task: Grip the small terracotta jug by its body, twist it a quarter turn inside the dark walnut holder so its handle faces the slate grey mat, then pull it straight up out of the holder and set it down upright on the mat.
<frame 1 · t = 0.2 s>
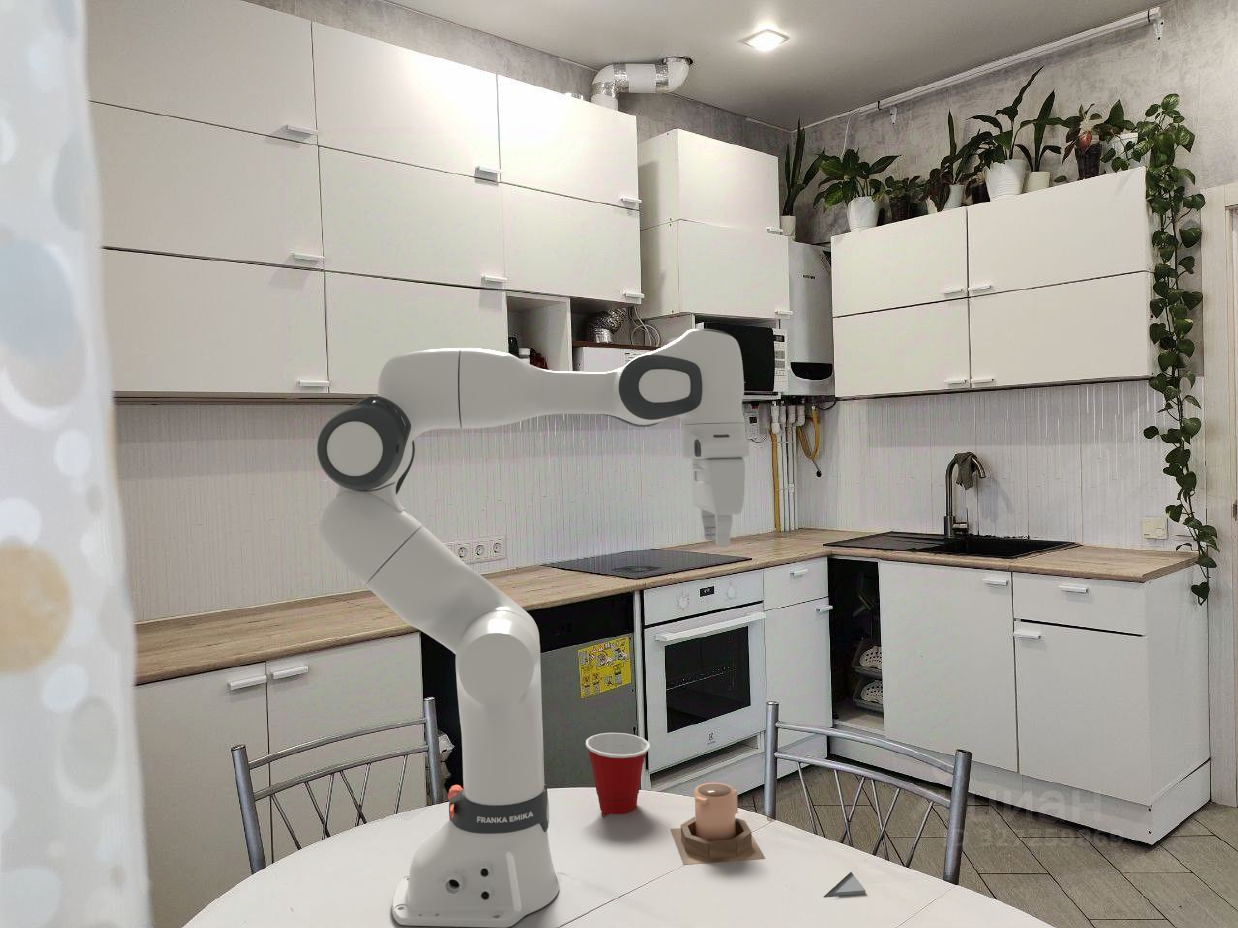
hand: (716, 543, 124), 47 cm above the table, tool pointing down, fingers open, 8 cm apart
slate mat: (817, 878, 122), on the table
holder: (716, 849, 132), on the table
plastic cup: (619, 813, 147), on the table
jug: (715, 842, 132), point 1 cm above the table, touching holder
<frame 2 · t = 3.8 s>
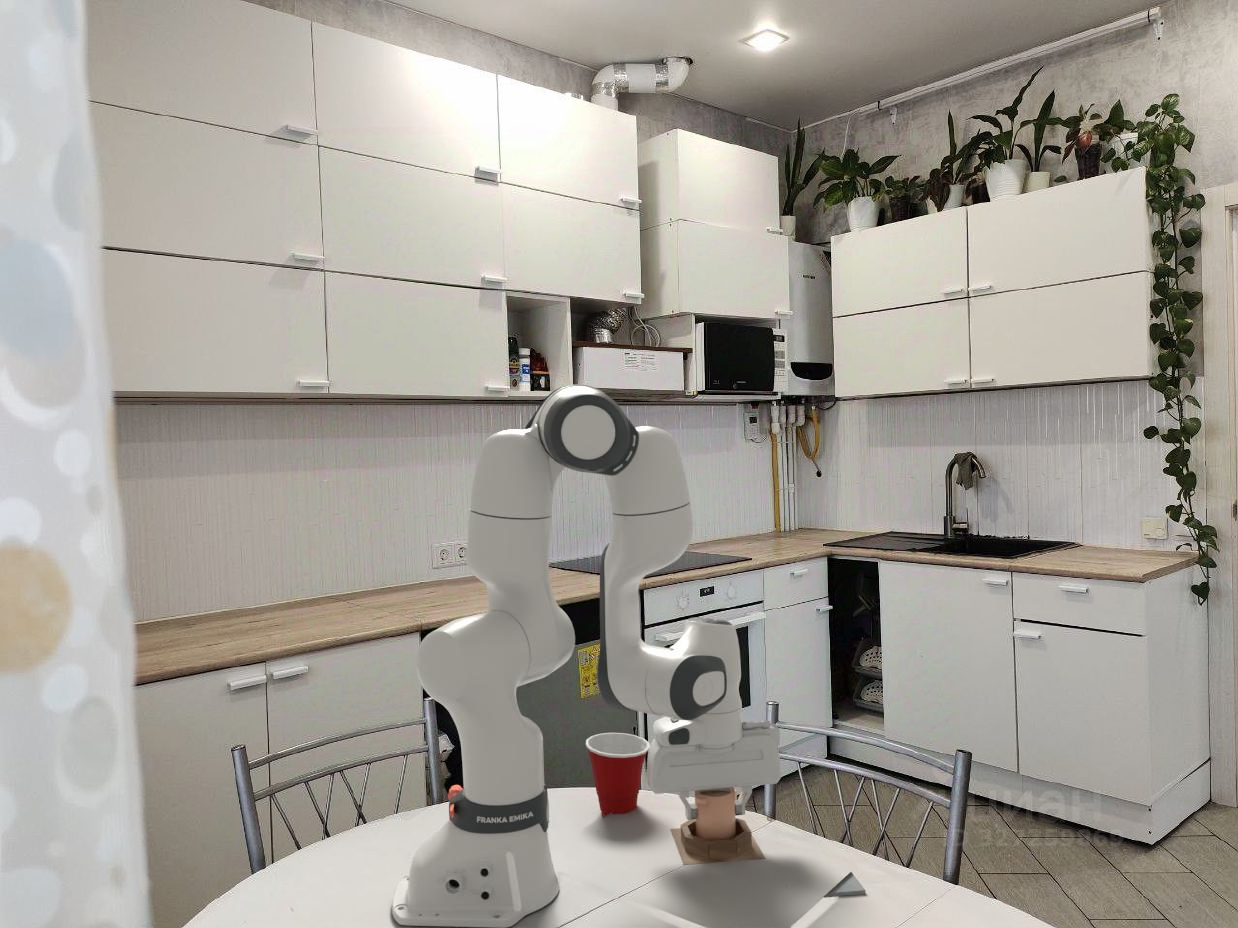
hand: (715, 815, 132), 5 cm above the table, tool pointing down, fingers closed on jug, 6 cm apart
jug: (716, 842, 132), point 1 cm above the table, touching gripper
everything else where it was.
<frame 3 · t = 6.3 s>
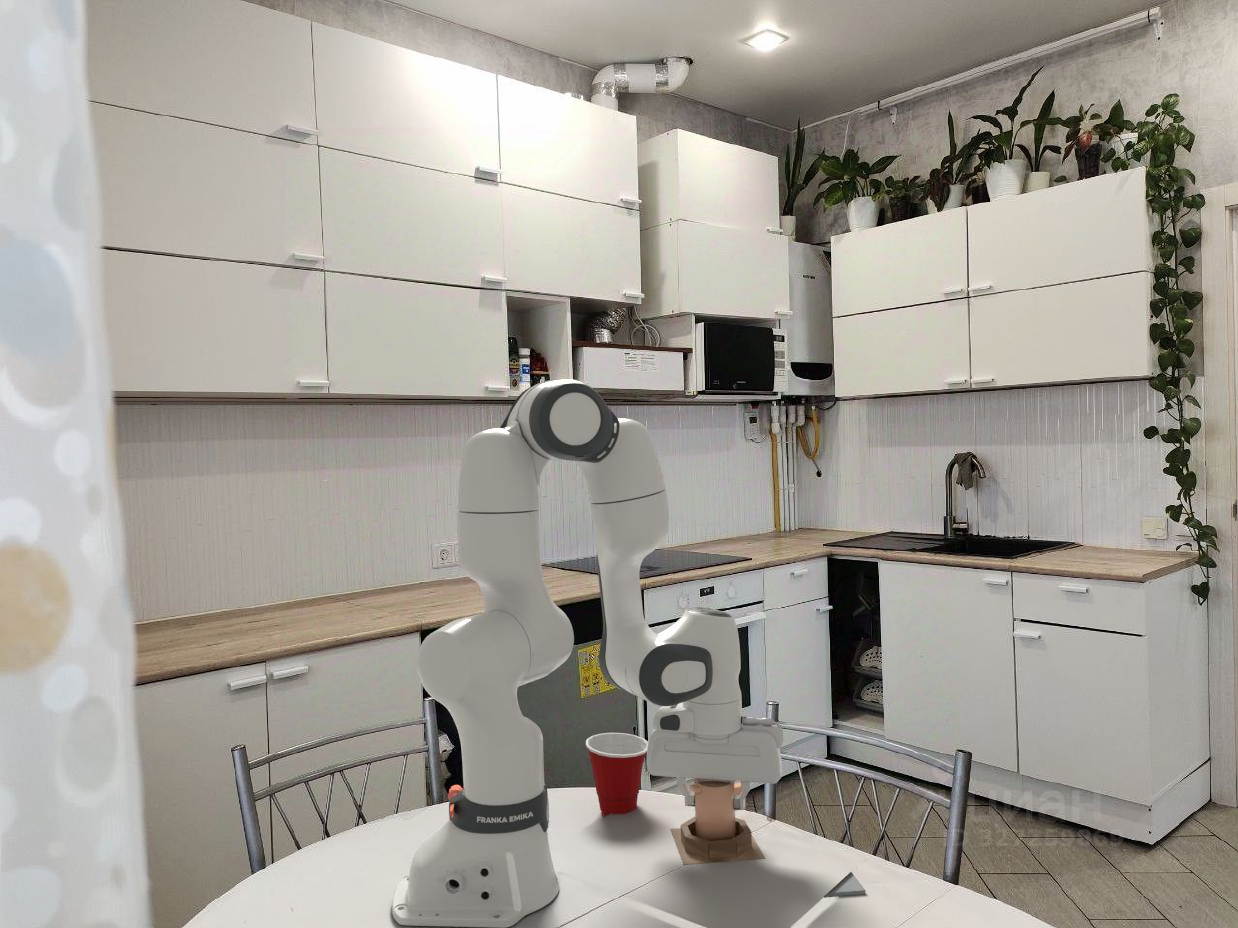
hand: (714, 806, 132), 6 cm above the table, tool pointing down, fingers closed on jug, 6 cm apart
jug: (715, 833, 132), point 2 cm above the table, touching gripper
everything else where it was.
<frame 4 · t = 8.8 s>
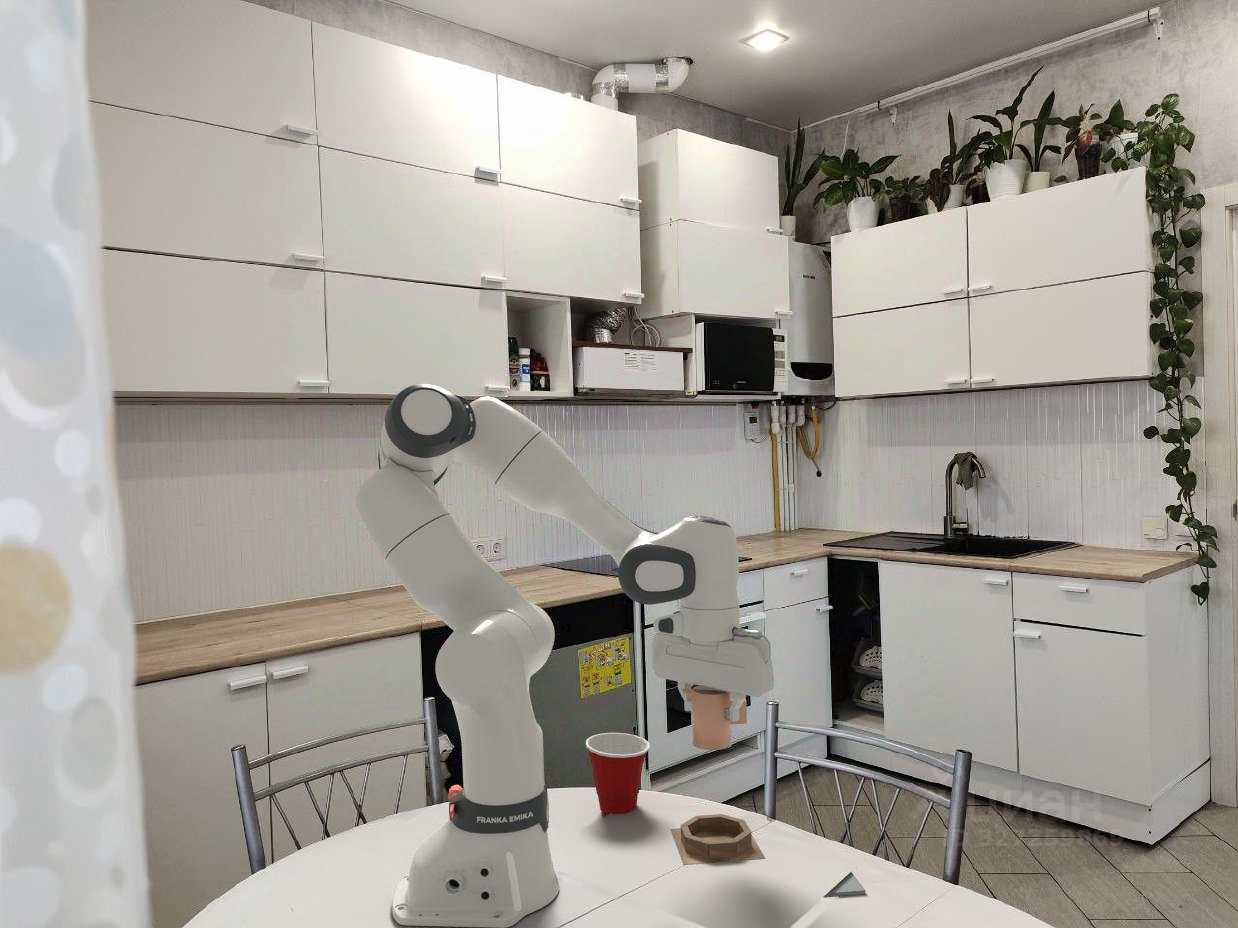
hand: (711, 715, 132), 20 cm above the table, tool pointing down, fingers closed on jug, 6 cm apart
jug: (711, 742, 132), point 16 cm above the table, touching gripper
everything else where it was.
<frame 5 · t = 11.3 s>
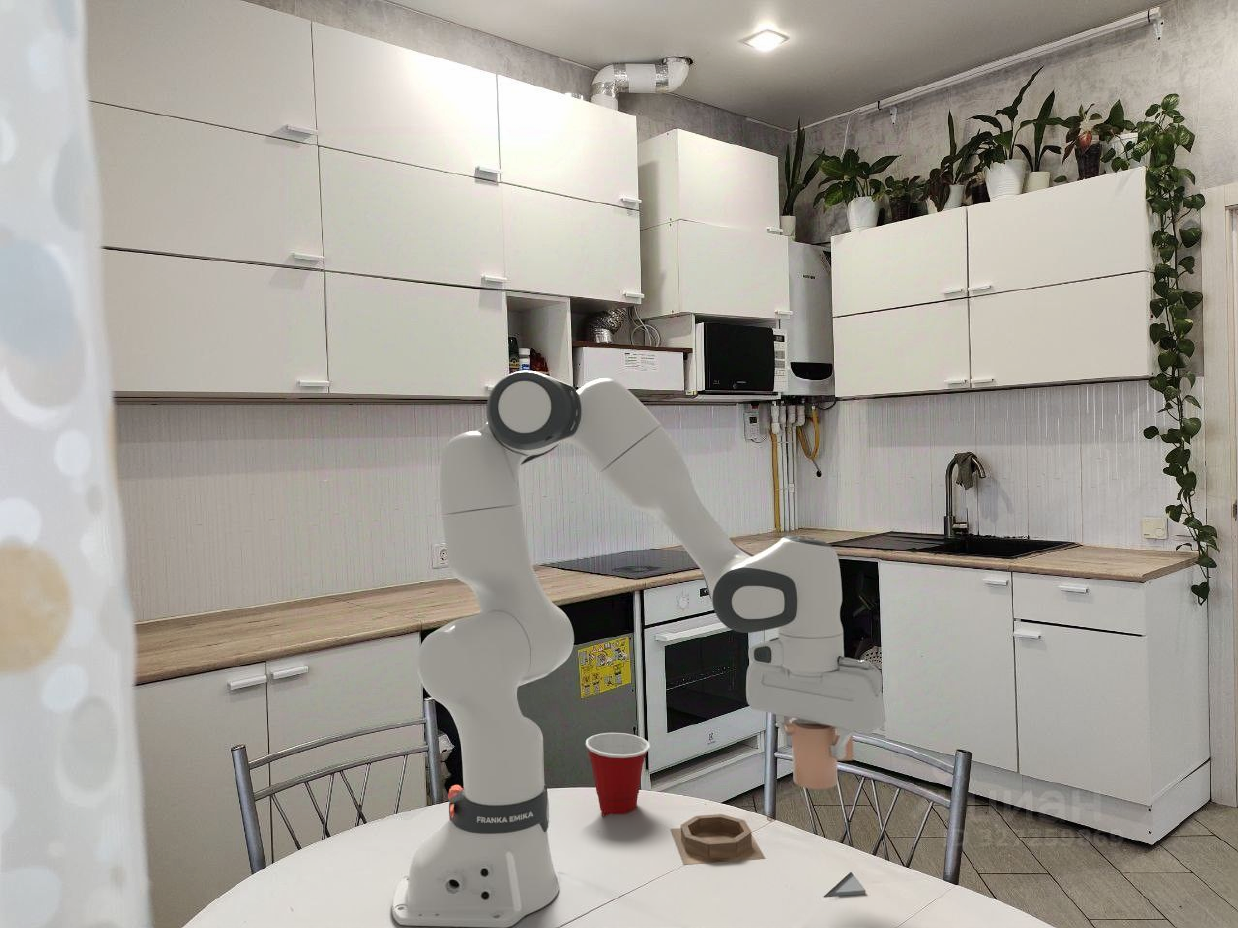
hand: (814, 751, 122), 18 cm above the table, tool pointing down, fingers closed on jug, 6 cm apart
jug: (815, 780, 122), point 14 cm above the table, touching gripper
everything else where it was.
when the fingers open (6 cm above the table, at t = 13.8 s): jug drops 1 cm, resting on slate mat.
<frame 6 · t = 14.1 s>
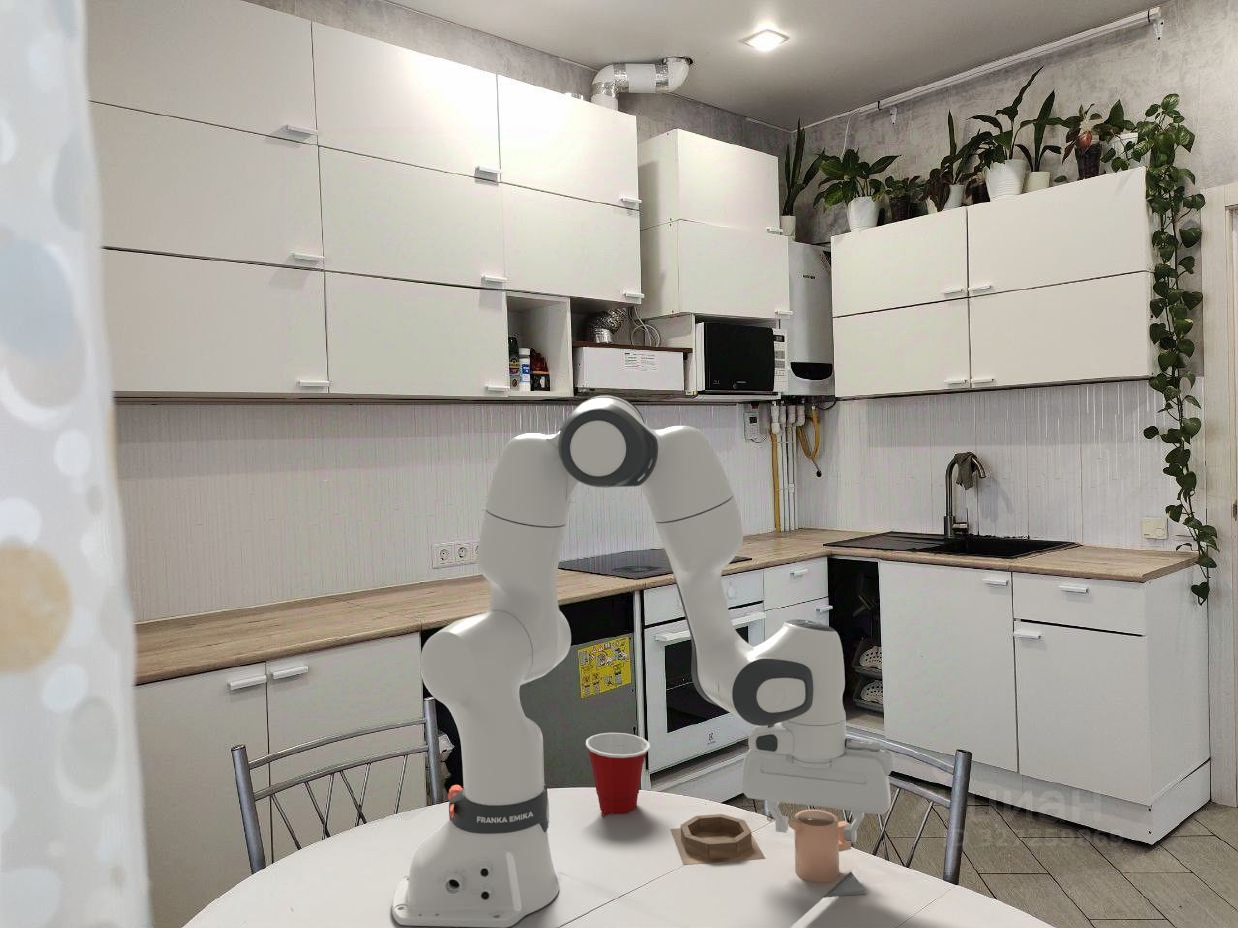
hand: (815, 835, 122), 6 cm above the table, tool pointing down, fingers open, 8 cm apart
jug: (817, 875, 122), point 1 cm above the table, touching slate mat
everything else where it was.
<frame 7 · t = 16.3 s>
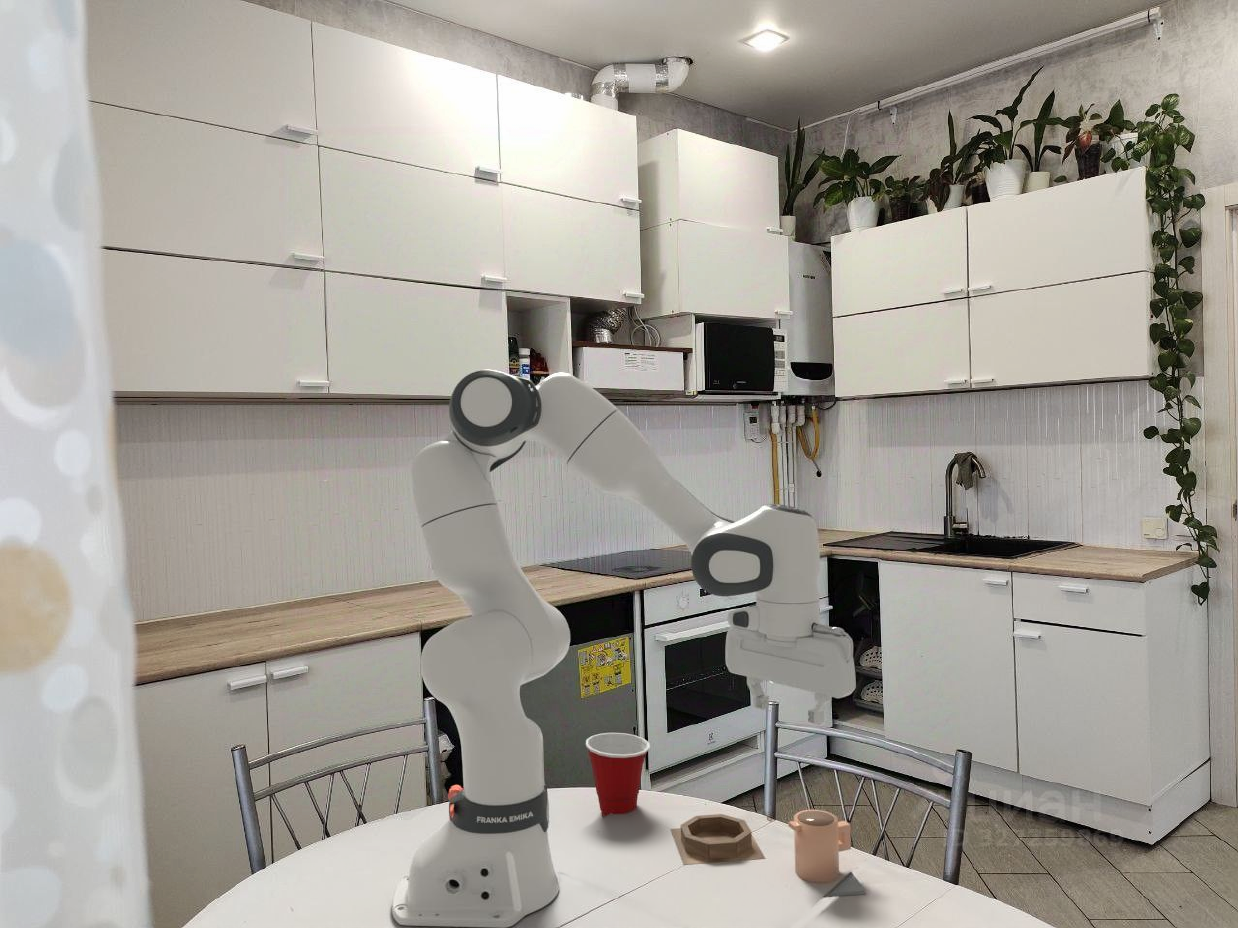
hand: (787, 715, 125), 22 cm above the table, tool pointing down, fingers open, 8 cm apart
nothing on the table moved.
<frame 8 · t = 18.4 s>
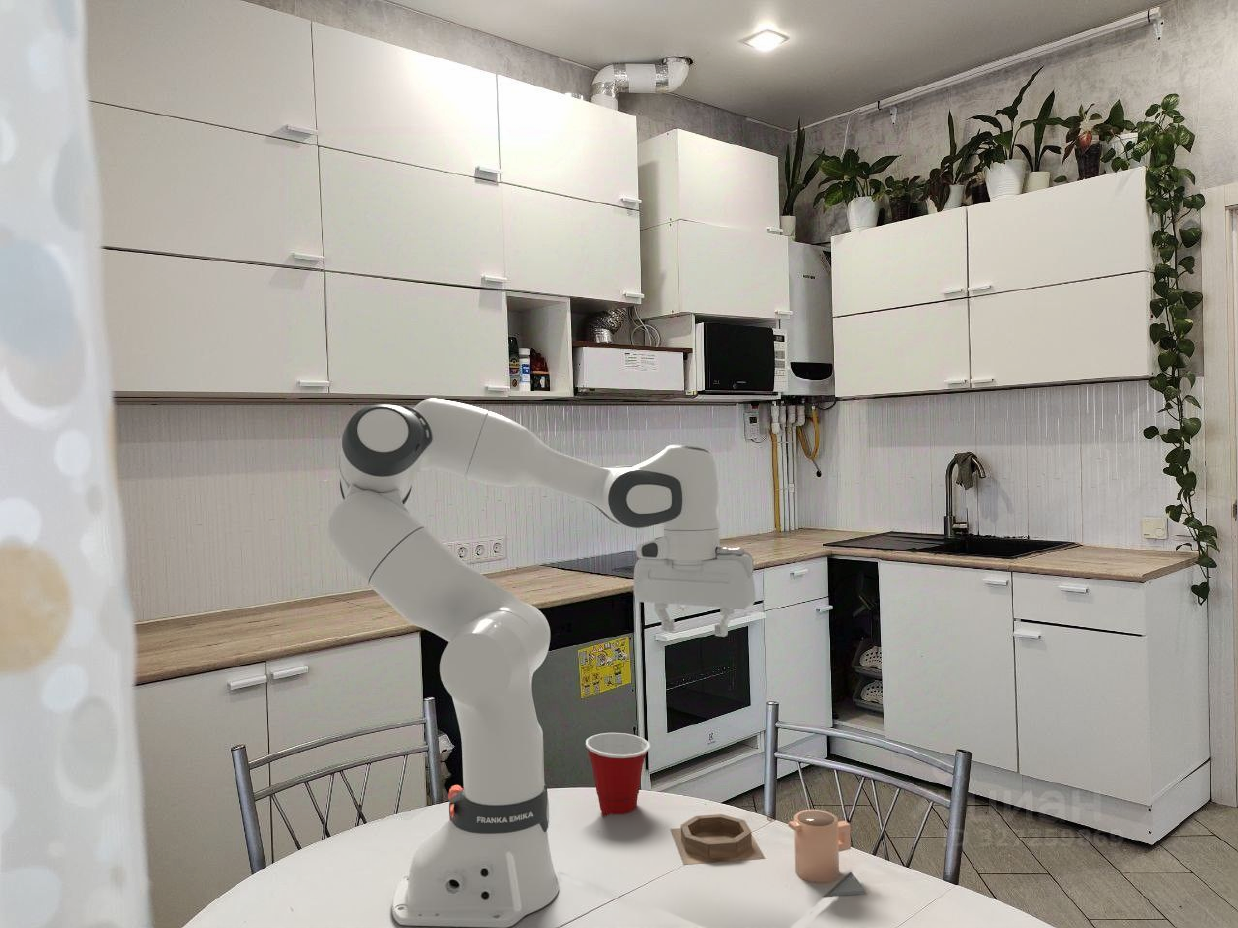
hand: (694, 633, 139), 31 cm above the table, tool pointing down, fingers open, 8 cm apart
nothing on the table moved.
at the end: jug 0.1 cm from the target spot, point 0.5 cm above the table; jug tilted 0°; the gripper is holding nothing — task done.
